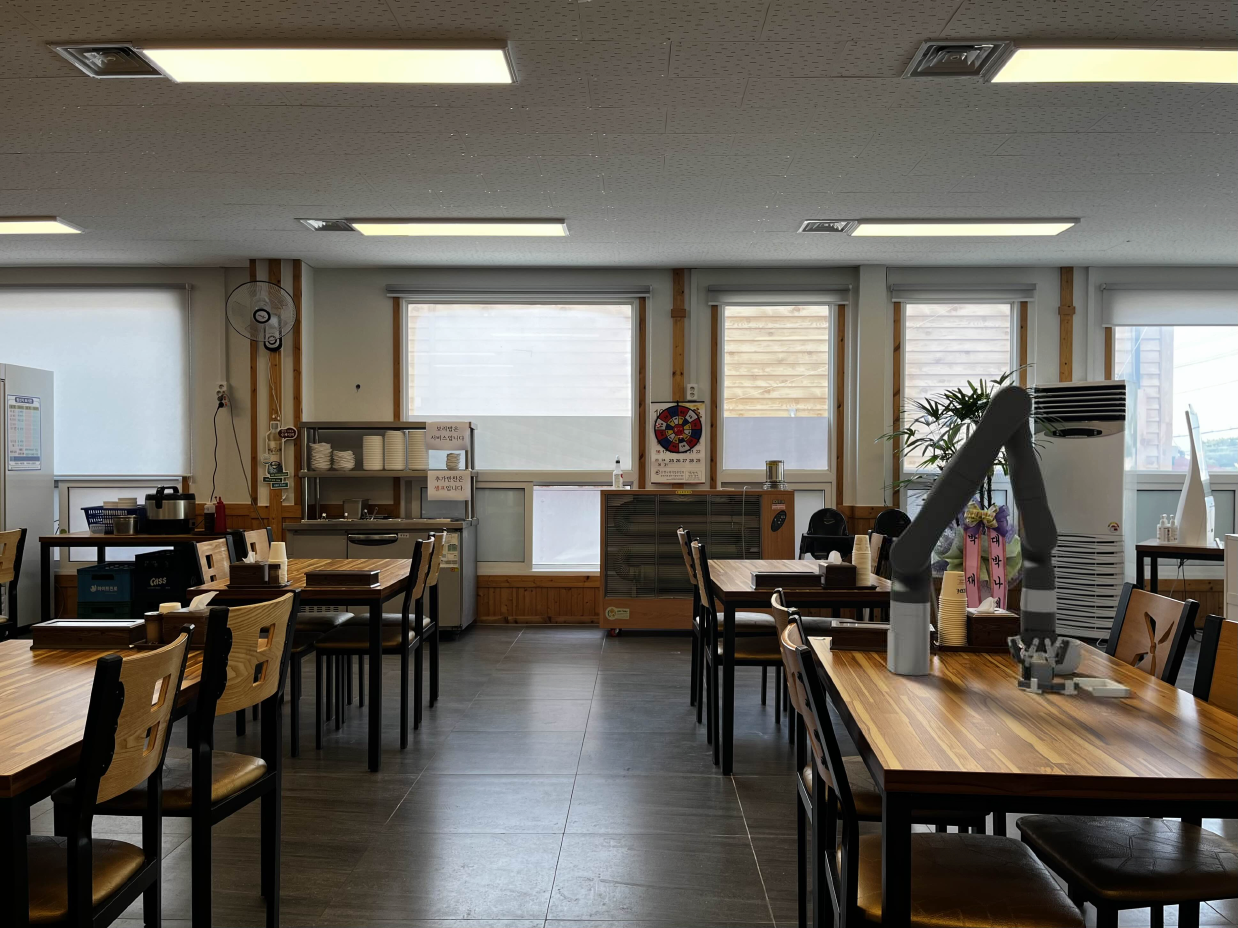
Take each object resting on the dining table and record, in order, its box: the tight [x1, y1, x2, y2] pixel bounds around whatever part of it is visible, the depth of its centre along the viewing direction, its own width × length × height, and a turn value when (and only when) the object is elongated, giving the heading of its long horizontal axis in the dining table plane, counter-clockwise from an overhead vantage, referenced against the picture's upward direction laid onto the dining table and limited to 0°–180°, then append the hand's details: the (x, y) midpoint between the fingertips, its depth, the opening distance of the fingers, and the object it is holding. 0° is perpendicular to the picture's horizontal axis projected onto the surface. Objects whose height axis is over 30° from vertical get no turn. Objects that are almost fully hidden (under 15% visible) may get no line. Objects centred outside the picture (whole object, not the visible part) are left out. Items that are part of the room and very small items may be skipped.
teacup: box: [1033, 636, 1082, 676], centre depth 226 cm, size 14×11×8 cm
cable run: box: [1017, 679, 1080, 692], centre depth 203 cm, size 13×4×1 cm, turn 88°
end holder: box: [1073, 677, 1131, 698], centre depth 203 cm, size 8×10×2 cm
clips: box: [1025, 679, 1078, 696], centre depth 203 cm, size 11×6×3 cm, turn 88°
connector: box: [1030, 659, 1053, 683], centre depth 211 cm, size 4×6×5 cm, turn 178°
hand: (1037, 681), depth 211 cm, fingers open, 4 cm apart
